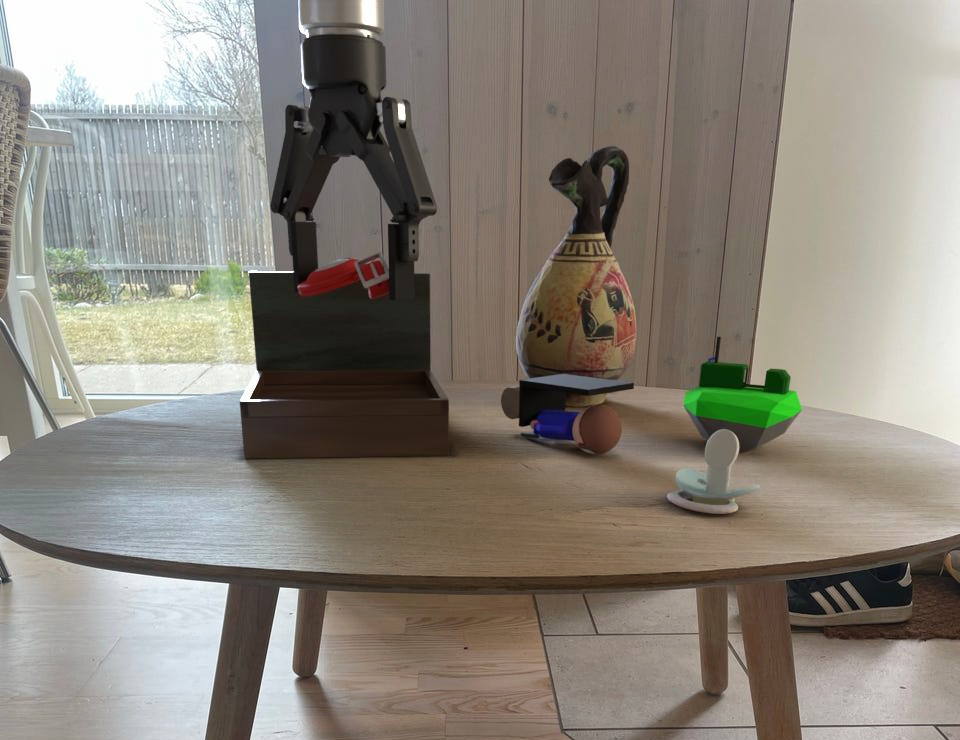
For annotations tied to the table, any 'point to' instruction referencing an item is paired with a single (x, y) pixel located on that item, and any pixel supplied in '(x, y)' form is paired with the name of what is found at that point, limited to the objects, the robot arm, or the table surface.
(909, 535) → the table surface
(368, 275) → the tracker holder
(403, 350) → the open wooden box
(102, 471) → the table surface
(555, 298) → the ceramic jug
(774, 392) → the toy tugboat
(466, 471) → the table surface
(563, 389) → the figurine character
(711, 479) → the pacifier
